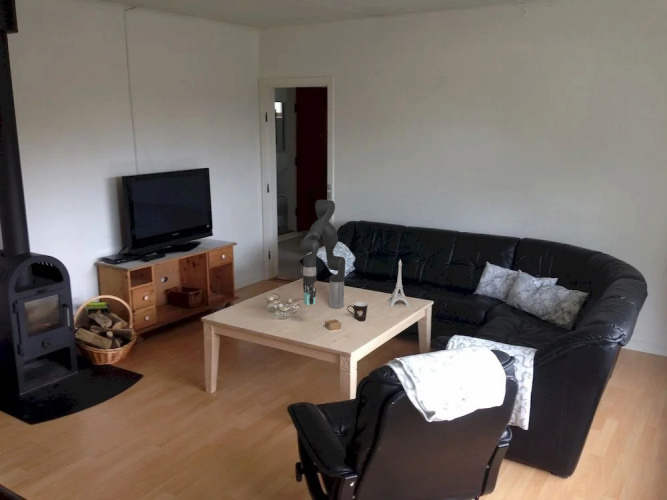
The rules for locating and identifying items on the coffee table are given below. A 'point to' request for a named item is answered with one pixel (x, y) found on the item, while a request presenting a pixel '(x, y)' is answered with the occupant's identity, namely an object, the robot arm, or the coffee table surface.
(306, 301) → the teal block
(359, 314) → the coffee mug
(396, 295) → the eiffel tower
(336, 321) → the walnut block
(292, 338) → the coffee table surface
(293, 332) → the coffee table surface
